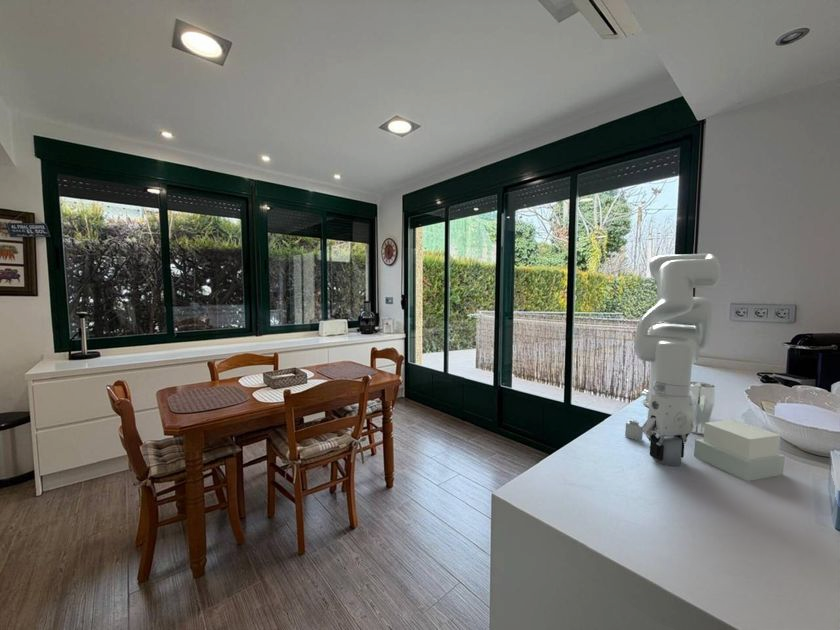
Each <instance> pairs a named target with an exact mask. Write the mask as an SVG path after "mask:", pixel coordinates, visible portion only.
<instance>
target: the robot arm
mask: <svg viewBox="0 0 840 630" xmlns="http://www.w3.org/2000/svg"><path fill="white" fill-rule="evenodd" d="M648 269H649V271H650V274H651V277H652V278H653V280H654V281H655V284H656V301H655V302H656V303H655V305H654V306H653V307H651V308H650V309H648V310H647V311H646V312H645V313H644V314H643V315H642V317H641V318H640V319H639V321H638V323H637V326H636V334H635V344H634V351H635V355H636V357H637V359H639V360H640V361H643V362H647V363H649V362H650V367H649V368H650V370H649V384H648V385H649V387H648V390H647V389H643V391H641V393H640V395H641V396H644V397H645V399H644V400H643V405H644V406H646V407H647V408H648V410H647V420H646V421H647V425H646V426H645V427H644V428H643V430H642V431H643V434H644V435H645V436H646V438H647V439H648V441H649V442H650V445H649V446H650V447H649V456H650V457H654V458H655V459H657V460H659V461H662V460H663V450H664V446H663V445H662V442H663V440H664V437H665V436H676V437H678V438H680V439H681V440H682V450H681V459H683V458H684V456H685V443H686V442H687V440H688V439H687V437H688V436H690V434H691V432H692V430H693V427H694V426H693V404H692V398H691V395H690V382H692V377H691V376H692V367H693V365H694V364H695V363H696V362H697V361H699V358H700V353H701V352H705V351H707V350H708V348H709V347H710V341H711V335H712V334H711V333H712V327H713V325H712V324H713V319H714V306H713V302H712V301H711V300H710V299H709V298H706V297H702V296H694V289H697V288H699V289H701V288H702V289H703V288H705V289H707V288H709V289H711V288H715V287H717V286H718V285H719V283H720V281H721V276H722V268H721V264H720V262H719V260H718V258H717V257H716V255H715V254H712V253H691V254H690V253H689V254H687V253H686V254H682V253H681V254H663V255H662V254H661V255H656V256H654V257H652V258H651V259H650V261H649V265H648ZM659 322H662V323H659ZM649 330H650V331H649ZM648 331H649V334H648ZM656 433H657V434H659V437H658V439H657V437H656Z"/></svg>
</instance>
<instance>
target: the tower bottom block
mask: <svg viewBox="0 0 840 630" xmlns="http://www.w3.org/2000/svg"><path fill="white" fill-rule="evenodd" d="M703 440H704V437H703V438H697V439H694V448H693V449H694V451H693V457H694V458H696V459H699V460H701V461H703V462H705V463H707V464H709V465H712V466H714V467H716V468H718V469H720V470H722V471H724V472H727V473H729V474H731V475H733V476H736V477H737V478H739V479H741V480H744V481H746V482H749V481H754V480H760V479H765V478H772V477H776V476H783V475H784V469H785V458H786V456H785V455H784V454H780V453H779V455H777V456H770V457H764V458H757V459H751V460H747V459H745V458H742V457H740V456H737V455H735V454H733V453H730V452H728V451H726V450H723V449H721V448H718V447H716V446H714V445H711V444H709V443H707V442H704V441H703Z"/></svg>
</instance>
